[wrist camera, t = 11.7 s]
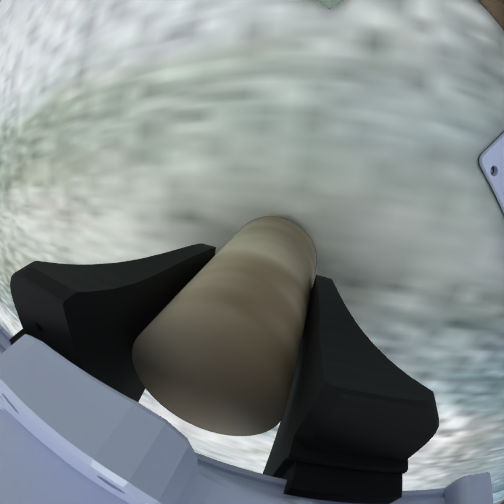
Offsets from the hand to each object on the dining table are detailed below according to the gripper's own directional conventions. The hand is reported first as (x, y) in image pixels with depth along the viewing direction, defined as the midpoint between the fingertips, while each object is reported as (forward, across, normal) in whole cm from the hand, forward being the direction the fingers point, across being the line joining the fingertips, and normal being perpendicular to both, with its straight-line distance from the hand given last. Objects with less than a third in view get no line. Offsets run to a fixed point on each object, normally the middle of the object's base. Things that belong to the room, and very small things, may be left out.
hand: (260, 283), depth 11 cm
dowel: (+2, 0, 0) cm, 2 cm away
